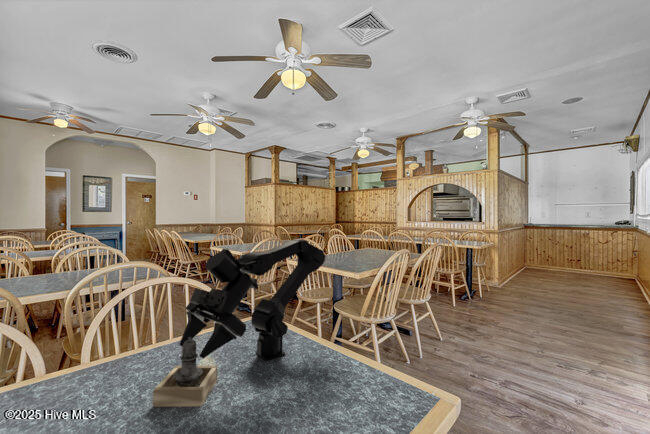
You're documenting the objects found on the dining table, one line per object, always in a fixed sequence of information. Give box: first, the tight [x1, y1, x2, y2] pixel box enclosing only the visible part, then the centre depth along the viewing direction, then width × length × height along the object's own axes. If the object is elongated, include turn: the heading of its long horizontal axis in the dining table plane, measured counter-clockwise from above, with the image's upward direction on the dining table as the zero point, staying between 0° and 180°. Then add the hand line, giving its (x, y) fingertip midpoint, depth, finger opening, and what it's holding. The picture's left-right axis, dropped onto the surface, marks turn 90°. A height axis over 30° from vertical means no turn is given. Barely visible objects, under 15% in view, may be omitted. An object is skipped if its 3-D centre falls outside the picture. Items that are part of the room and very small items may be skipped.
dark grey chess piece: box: [174, 336, 203, 387], centre depth 66 cm, size 6×6×12 cm
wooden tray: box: [152, 365, 218, 408], centre depth 66 cm, size 10×10×4 cm
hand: (190, 351), depth 66 cm, fingers open, 9 cm apart
